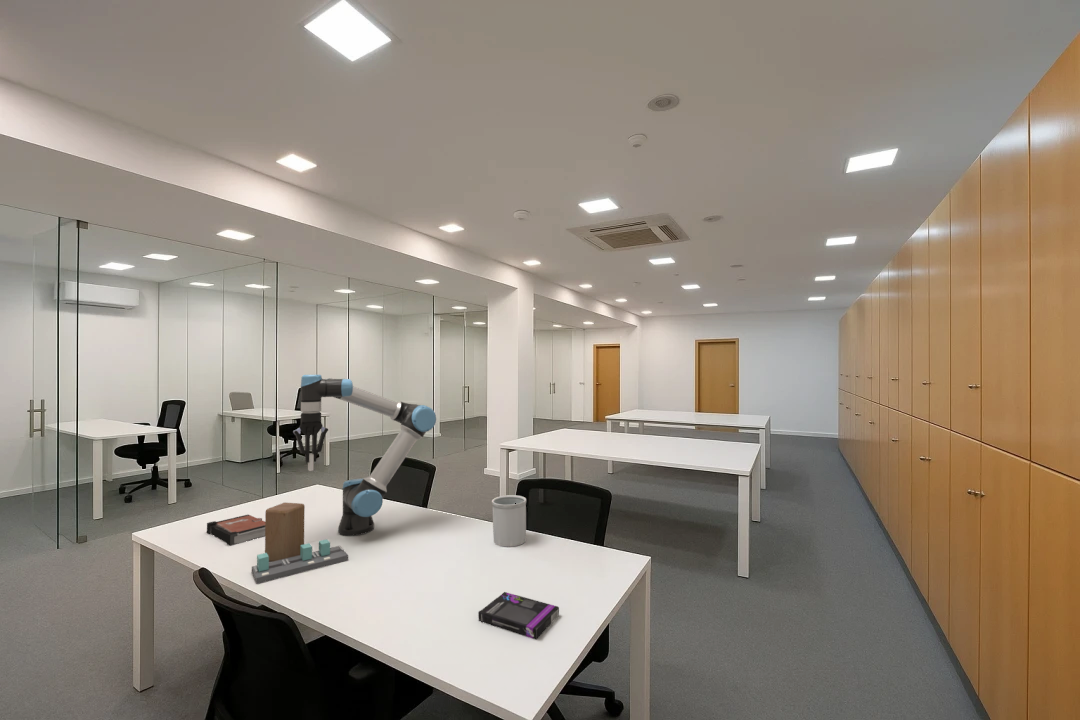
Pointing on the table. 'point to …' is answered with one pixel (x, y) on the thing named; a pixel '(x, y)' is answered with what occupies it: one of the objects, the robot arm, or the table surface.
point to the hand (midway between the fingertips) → (310, 470)
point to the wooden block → (284, 530)
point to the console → (298, 565)
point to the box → (519, 615)
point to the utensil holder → (509, 520)
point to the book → (237, 529)
